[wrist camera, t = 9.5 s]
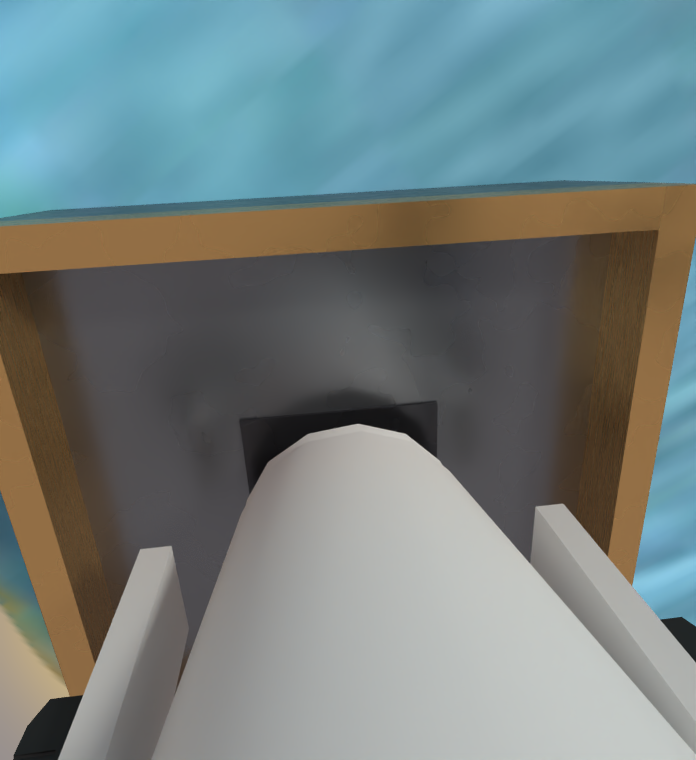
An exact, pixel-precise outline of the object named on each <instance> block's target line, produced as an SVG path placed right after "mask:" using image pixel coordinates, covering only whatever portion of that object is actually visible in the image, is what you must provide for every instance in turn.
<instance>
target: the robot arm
mask: <svg viewBox="0 0 696 760" xmlns="http://www.w3.org/2000/svg"><path fill="white" fill-rule="evenodd" d="M530 564H531V565H532V567H533V568H534V569H535V570H536V571H537V572H538V573H539V575H540V576H541V577H542V578H543V579H544V580H545V581H546V583H547V584H548V585H549V586H550V587H551V588H552V590H553V591H554V592H555V593H556V594H557V595H558V596H559V598H560V599H561V600H562V601H563V602H564V603H565V605H566V606H567V607H568V608H569V609H570V610H571V611H572V613H573V614H574V615H575V616H576V617H577V618H578V619H579V621H580V622H581V623H582V624H583V625H584V626H585V628H586V629H587V630H588V631H589V632H590V633H591V634H592V636H593V637H594V638H595V639H596V640H597V641H598V643H599V644H600V645H601V646H602V647H603V648H604V649H605V651H606V652H607V653H608V654H609V655H610V656H611V657H612V659H613V660H614V661H615V662H616V663H617V664H618V666H619V667H620V668H621V669H622V670H623V671H624V672H625V674H626V675H627V676H628V677H629V678H630V679H631V681H632V682H633V683H634V684H635V685H636V686H637V687H638V689H639V690H640V691H641V692H642V693H643V694H644V695H645V697H646V698H647V699H648V700H649V701H650V702H651V704H652V705H653V706H654V707H655V708H656V709H657V710H658V712H659V713H660V714H661V715H662V716H663V717H664V718H665V720H666V721H667V722H668V723H669V724H670V725H671V727H672V728H673V729H674V730H675V731H676V732H677V733H678V735H679V736H680V737H681V738H682V739H683V740H684V742H685V743H686V744H687V745H688V746H689V747H690V748H691V750H692V751H693V752H694V753H695V754H696V626H694V625H693V624H691V623H690V622H688V621H687V620H685V619H684V618H682V617H678V618H670V619H662V620H660V619H659V618H658V617H657V616H656V614H655V613H654V612H653V611H652V610H651V608H650V607H649V606H648V605H647V604H646V602H645V601H644V600H643V599H642V598H641V596H640V595H639V594H638V593H637V592H636V590H635V589H634V588H633V587H632V586H631V584H630V583H629V582H628V581H627V580H626V578H625V577H624V576H623V575H622V574H621V572H620V571H619V570H618V569H617V568H616V566H615V565H614V564H613V563H612V562H611V560H610V559H609V558H608V557H607V556H606V554H605V553H604V552H603V551H602V550H601V548H600V547H599V546H598V545H597V544H596V542H595V541H594V540H593V539H592V538H591V536H590V535H589V534H588V533H587V532H586V530H585V529H584V528H583V527H582V526H581V524H580V523H579V522H578V521H577V520H576V518H575V517H574V516H573V515H572V514H571V512H570V511H569V510H568V509H567V508H566V506H565V505H564V504H555V505H546V506H536V507H535V518H534V529H533V540H532V551H531V562H530ZM188 631H189V627H188V622H187V617H186V613H185V608H184V603H183V598H182V594H181V589H180V584H179V579H178V575H177V570H176V565H175V560H174V556H173V551H172V546H166V547H156V548H147V549H140V551H139V554H138V557H137V559H136V562H135V564H134V567H133V569H132V572H131V574H130V577H129V580H128V582H127V585H126V587H125V590H124V592H123V595H122V597H121V600H120V603H119V605H118V608H117V610H116V613H115V615H114V618H113V620H112V623H111V626H110V628H109V631H108V633H107V636H106V638H105V641H104V643H103V646H102V649H101V651H100V654H99V656H98V659H97V661H96V664H95V666H94V669H93V672H92V674H91V677H90V679H89V682H88V684H87V687H86V689H85V692H84V695H79V696H71V697H64V698H56V699H50V700H49V702H48V703H47V704H46V705H45V706H44V707H43V708H42V710H41V711H40V712H39V713H38V714H37V715H36V717H35V718H34V719H33V720H32V721H31V723H30V724H29V725H28V726H27V728H26V730H25V732H24V735H23V737H22V739H21V741H20V743H19V745H18V747H17V750H16V752H15V754H14V759H13V760H151V759H152V756H153V754H154V751H155V748H156V745H157V743H158V740H159V737H160V734H161V732H162V729H163V726H164V724H165V721H166V718H167V715H168V713H169V710H170V707H171V704H172V702H173V699H174V696H175V691H176V686H177V682H178V677H179V673H180V668H181V663H182V659H183V654H184V649H185V645H186V640H187V636H188Z"/></svg>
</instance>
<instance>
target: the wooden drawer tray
mask: <svg viewBox="0 0 696 760" xmlns="http://www.w3.org/2000/svg"><path fill="white" fill-rule="evenodd" d="M695 237H696V184H685V183H645V182H606V181H566V180H564V181H547V182H530V183H513V184H496V185H478V186H461V187H444V188H427V189H410V190H393V191H376V192H358V193H341V194H324V195H307V196H290V197H273V198H256V199H239V200H221V201H204V202H187V203H170V204H153V205H136V206H119V207H101V208H84V209H67V210H50V211H43V212H36V213H30V214H23V215H17V216H11V217H4V218H0V491H1V494H2V497H3V500H4V503H5V506H6V509H7V512H8V515H9V518H10V521H11V524H12V526H13V529H14V532H15V535H16V538H17V541H18V544H19V547H20V550H21V553H22V556H23V559H24V562H25V565H26V568H27V571H28V574H29V577H30V580H31V583H32V586H33V589H34V591H35V594H36V597H37V600H38V603H39V606H40V609H41V612H42V615H43V618H44V621H45V624H46V627H47V630H48V633H49V636H50V639H51V642H52V645H53V648H54V651H55V654H56V656H57V659H58V662H59V665H60V668H61V671H62V674H63V677H64V680H65V683H66V686H67V689H68V692H69V695H70V697H71V696H79V695H84V692H85V689H86V687H87V684H88V682H89V679H90V677H91V674H92V672H93V669H94V666H95V664H96V661H97V659H98V656H99V654H100V651H101V649H102V646H103V643H104V641H105V638H106V636H107V633H108V631H109V628H110V626H111V623H112V620H113V618H114V615H115V613H116V610H117V608H118V605H119V603H120V600H121V597H122V595H123V592H124V590H125V587H126V585H127V582H128V580H129V577H130V574H131V572H132V569H133V567H134V564H135V562H136V559H137V557H138V554H139V551H140V549H147V548H156V547H166V546H172V551H173V556H174V560H175V565H176V570H177V575H178V579H179V584H180V589H181V594H182V598H183V603H184V608H185V613H186V617H187V622H188V627H189V631H188V636H187V640H186V645H185V649H184V654H183V659H182V663H181V668H180V673H179V677H178V682H177V686H176V691H177V688H178V685H179V683H180V680H181V677H182V674H183V672H184V669H185V666H186V663H187V661H188V658H189V655H190V652H191V650H192V647H193V644H194V642H195V639H196V636H197V633H198V631H199V628H200V625H201V622H202V620H203V617H204V614H205V611H206V609H207V606H208V603H209V601H210V598H211V595H212V592H213V590H214V587H215V584H216V581H217V579H218V576H219V573H220V571H221V568H222V565H223V562H224V560H225V557H226V554H227V551H228V549H229V546H230V543H231V540H232V538H233V535H234V532H235V530H236V527H237V524H238V521H239V519H240V516H241V513H242V511H243V510H244V508H245V506H246V501H247V499H248V497H249V496H250V494H251V492H252V490H253V488H254V487H255V485H256V483H257V481H258V479H259V477H260V476H261V474H262V472H263V470H264V468H265V467H266V465H267V463H268V462H269V461H270V460H272V459H273V458H274V457H276V456H277V455H279V454H280V453H282V452H283V451H284V450H286V449H287V448H289V447H290V446H292V445H293V444H294V443H296V442H297V441H299V440H300V439H302V438H303V437H304V436H306V435H307V434H310V433H315V432H320V431H325V430H329V429H334V428H339V427H344V426H349V425H354V424H362V425H367V426H371V427H376V428H381V429H385V430H390V431H395V432H399V433H404V434H407V435H408V436H409V437H410V438H412V439H413V440H414V441H415V442H417V443H418V444H419V445H420V446H422V447H423V448H424V449H426V450H427V451H428V452H429V453H431V454H432V455H433V456H434V457H436V458H437V459H438V460H439V461H440V462H441V464H442V465H443V466H444V467H445V468H447V469H448V470H449V471H450V472H451V473H452V474H453V476H454V477H455V478H456V479H457V480H458V481H459V482H460V484H461V485H462V486H463V487H464V488H465V489H466V491H467V492H468V493H469V494H470V495H471V496H472V497H473V499H474V500H475V501H476V502H477V503H478V504H479V506H480V507H481V508H482V509H483V510H484V511H485V512H486V514H487V515H488V516H489V517H490V518H491V519H492V520H493V522H494V523H495V524H496V525H497V526H498V527H499V529H500V530H501V531H502V532H503V533H504V534H505V535H506V537H507V538H508V539H509V540H510V541H511V542H512V543H513V545H514V546H515V547H516V548H517V549H518V550H519V552H520V553H521V554H522V555H523V556H524V557H525V558H526V560H527V561H528V562H529V563H530V562H531V551H532V540H533V529H534V518H535V507H536V506H546V505H555V504H564V505H565V506H566V508H567V509H568V510H569V511H570V512H571V514H572V515H573V516H574V517H575V518H576V520H577V521H578V522H579V523H580V524H581V526H582V527H583V528H584V529H585V530H586V532H587V533H588V534H589V535H590V536H591V538H592V539H593V540H594V541H595V542H596V544H597V545H598V546H599V547H600V548H601V550H602V551H603V552H604V553H605V554H606V556H607V557H608V558H609V559H610V560H611V562H612V563H613V564H614V565H615V566H616V568H617V569H618V570H619V571H620V572H621V574H622V575H623V576H624V577H625V578H626V580H627V581H628V582H629V583H630V584H631V586H632V584H633V578H634V573H635V567H636V562H637V556H638V551H639V545H640V540H641V534H642V529H643V523H644V518H645V512H646V507H647V501H648V496H649V490H650V485H651V479H652V474H653V468H654V463H655V457H656V452H657V446H658V441H659V435H660V430H661V424H662V419H663V413H664V408H665V402H666V397H667V391H668V386H669V380H670V375H671V369H672V364H673V358H674V353H675V347H676V342H677V336H678V331H679V325H680V320H681V314H682V309H683V303H684V298H685V292H686V287H687V281H688V276H689V270H690V265H691V259H692V254H693V248H694V243H695ZM176 691H175V693H176Z"/></svg>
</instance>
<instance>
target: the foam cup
mask: <svg viewBox="0 0 696 760" xmlns="http://www.w3.org/2000/svg"><path fill="white" fill-rule="evenodd" d="M151 760H696V754H695V753H694V752H693V751H692V750H691V748H690V747H689V746H688V745H687V744H686V743H685V742H684V740H683V739H682V738H681V737H680V736H679V735H678V733H677V732H676V731H675V730H674V729H673V728H672V727H671V725H670V724H669V723H668V722H667V721H666V720H665V718H664V717H663V716H662V715H661V714H660V713H659V712H658V710H657V709H656V708H655V707H654V706H653V705H652V704H651V702H650V701H649V700H648V699H647V698H646V697H645V695H644V694H643V693H642V692H641V691H640V690H639V689H638V687H637V686H636V685H635V684H634V683H633V682H632V681H631V679H630V678H629V677H628V676H627V675H626V674H625V672H624V671H623V670H622V669H621V668H620V667H619V666H618V664H617V663H616V662H615V661H614V660H613V659H612V657H611V656H610V655H609V654H608V653H607V652H606V651H605V649H604V648H603V647H602V646H601V645H600V644H599V643H598V641H597V640H596V639H595V638H594V637H593V636H592V634H591V633H590V632H589V631H588V630H587V629H586V628H585V626H584V625H583V624H582V623H581V622H580V621H579V619H578V618H577V617H576V616H575V615H574V614H573V613H572V611H571V610H570V609H569V608H568V607H567V606H566V605H565V603H564V602H563V601H562V600H561V599H560V598H559V596H558V595H557V594H556V593H555V592H554V591H553V590H552V588H551V587H550V586H549V585H548V584H547V583H546V581H545V580H544V579H543V578H542V577H541V576H540V575H539V573H538V572H537V571H536V570H535V569H534V568H533V567H532V565H531V564H530V563H529V562H528V561H527V560H526V558H525V557H524V556H523V555H522V554H521V553H520V552H519V550H518V549H517V548H516V547H515V546H514V545H513V543H512V542H511V541H510V540H509V539H508V538H507V537H506V535H505V534H504V533H503V532H502V531H501V530H500V529H499V527H498V526H497V525H496V524H495V523H494V522H493V520H492V519H491V518H490V517H489V516H488V515H487V514H486V512H485V511H484V510H483V509H482V508H481V507H480V506H479V504H478V503H477V502H476V501H475V500H474V499H473V497H472V496H471V495H470V494H469V493H468V492H467V491H466V489H465V488H464V487H463V486H462V485H461V484H460V482H459V481H458V480H457V479H456V478H455V477H454V476H453V474H452V473H451V472H450V471H449V470H448V469H447V468H445V467H444V466H443V465H442V464H441V462H440V461H439V460H438V459H437V458H436V457H434V456H433V455H432V454H431V453H429V452H428V451H427V450H426V449H424V448H423V447H422V446H420V445H419V444H418V443H417V442H415V441H414V440H413V439H412V438H410V437H409V436H408V435H407V434H404V433H399V432H395V431H390V430H385V429H381V428H376V427H371V426H367V425H362V424H354V425H349V426H344V427H339V428H334V429H329V430H325V431H320V432H315V433H310V434H307V435H306V436H304V437H303V438H302V439H300V440H299V441H297V442H296V443H294V444H293V445H292V446H290V447H289V448H287V449H286V450H284V451H283V452H282V453H280V454H279V455H277V456H276V457H274V458H273V459H272V460H270V461H269V462H268V463H267V465H266V467H265V468H264V470H263V472H262V474H261V476H260V477H259V479H258V481H257V483H256V485H255V487H254V488H253V490H252V492H251V494H250V496H249V497H248V499H247V501H246V506H245V508H244V510H243V511H242V513H241V516H240V519H239V521H238V524H237V527H236V530H235V532H234V535H233V538H232V540H231V543H230V546H229V549H228V551H227V554H226V557H225V560H224V562H223V565H222V568H221V571H220V573H219V576H218V579H217V581H216V584H215V587H214V590H213V592H212V595H211V598H210V601H209V603H208V606H207V609H206V611H205V614H204V617H203V620H202V622H201V625H200V628H199V631H198V633H197V636H196V639H195V642H194V644H193V647H192V650H191V652H190V655H189V658H188V661H187V663H186V666H185V669H184V672H183V674H182V677H181V680H180V683H179V685H178V688H177V691H176V693H175V696H174V699H173V702H172V704H171V707H170V710H169V713H168V715H167V718H166V721H165V724H164V726H163V729H162V732H161V734H160V737H159V740H158V743H157V745H156V748H155V751H154V754H153V756H152V759H151Z"/></svg>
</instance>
